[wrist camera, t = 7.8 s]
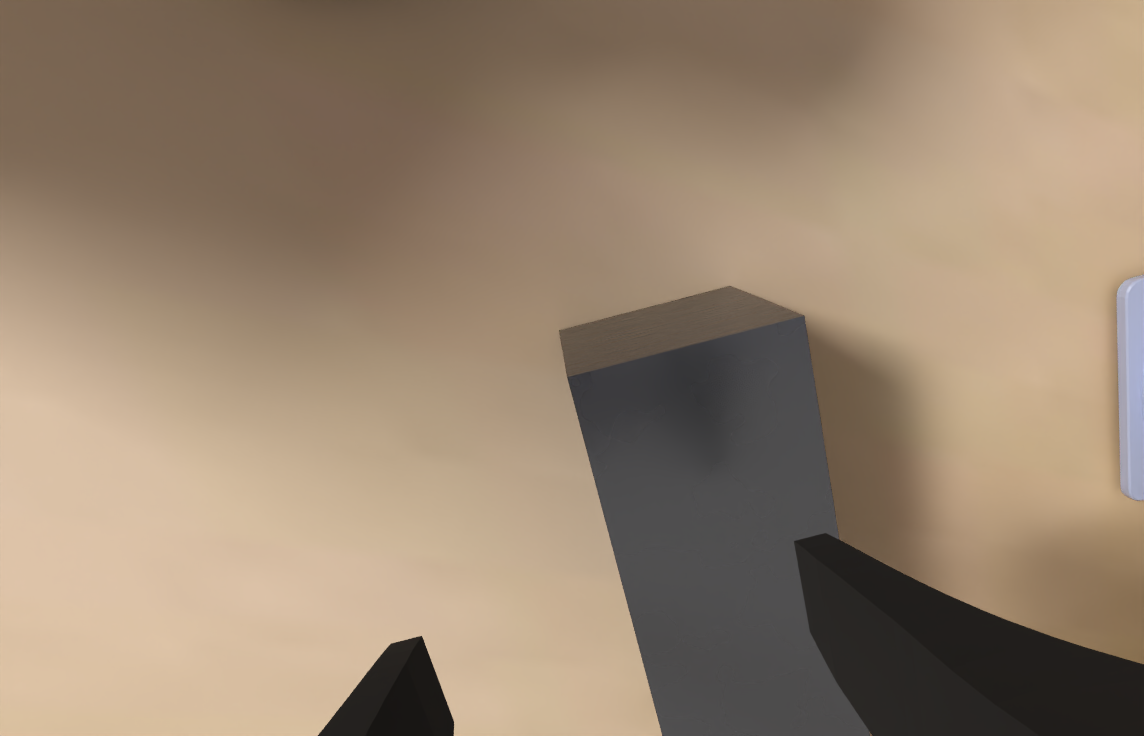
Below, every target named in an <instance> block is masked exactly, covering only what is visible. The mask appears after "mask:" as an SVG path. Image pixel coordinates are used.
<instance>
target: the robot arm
mask: <svg viewBox="0 0 1144 736" xmlns="http://www.w3.org/2000/svg"><path fill="white" fill-rule="evenodd" d="M1117 340H1118V388H1119V436H1120V483H1121V491H1122V493H1123V494H1124V495H1125V496H1127V497H1129V498H1131V499H1134V500H1137V501H1140V500H1144V275H1140V276H1136V277H1132V278H1130V279H1128V280H1126V281H1124V282H1123V283H1122V284H1121V285H1120V287H1119V289H1118V291H1117ZM794 545H795V551H796V556H797V562H798V568H799V573H800V579H801V584H802V590H803V596H804V601H805V607H806V613H807V618H808V624H809V629H810V633H811V635H812V637H813V639H814V641H815V643H816V645H817V647H818V649H819V651H820V652H821V654H822V656H823V658H824V660H825V662H826V664H827V666H828V668H829V669H830V671H831V673H832V675H833V677H834V679H835V681H836V682H837V684H838V685H839V687H840V688H841V690H842V692H843V693H844V695H845V696H846V697H847V699H848V700H849V702H850V703H851V705H852V706H853V708H854V709H855V711H856V712H857V714H858V715H859V717H860V718H861V720H862V721H863V723H864V724H865V725H866V727H867V728H868V730H869V731H870V733H871V734H872V736H1144V664H1140V663H1136V662H1133V661H1130V660H1126V659H1123V658H1119V657H1116V656H1113V655H1109V654H1106V653H1102V652H1099V651H1095V650H1092V649H1089V648H1085V647H1082V646H1079V645H1076V644H1073V643H1070V642H1067V641H1064V640H1060V639H1057V638H1054V637H1052V636H1049V635H1046V634H1043V633H1041V632H1038V631H1035V630H1032V629H1030V628H1027V627H1024V626H1021V625H1019V624H1016V623H1013V622H1010V621H1008V620H1005V619H1003V618H1000V617H998V616H995V615H993V614H990V613H988V612H985V611H983V610H980V609H978V608H976V607H974V606H971V605H969V604H967V603H964V602H962V601H960V600H958V599H955V598H953V597H951V596H948V595H946V594H944V593H942V592H940V591H938V590H936V589H933V588H931V587H929V586H927V585H925V584H923V583H921V582H919V581H917V580H915V579H913V578H911V577H909V576H907V575H905V574H903V573H901V572H899V571H897V570H895V569H893V568H891V567H889V566H887V565H885V564H883V563H882V562H880V561H878V560H876V559H874V558H872V557H870V556H868V555H867V554H865V553H863V552H861V551H859V550H857V549H855V548H854V547H852V546H850V545H848V544H846V543H844V542H842V541H840V540H839V539H837V538H835V537H833V536H831V535H829V534H827V533H823V534H819V535H815V536H811V537H808V538H804V539H800V540H796V541H794ZM318 736H454V721H453V718H452V715H451V713H450V710H449V707H448V705H447V702H446V699H445V697H444V694H443V691H442V689H441V686H440V683H439V680H438V678H437V675H436V672H435V670H434V667H433V664H432V662H431V659H430V656H429V654H428V651H427V648H426V646H425V643H424V640H423V638H422V636H420V637H416V638H412V639H408V640H404V641H400V642H396V643H392V644H390V645H389V647H388V648H387V649H386V650H385V651H384V652H383V654H382V655H381V656H380V657H379V658H378V660H377V661H376V662H375V664H374V665H373V666H372V667H371V669H370V670H369V671H368V672H367V674H366V675H365V676H364V678H363V679H362V680H361V682H360V683H359V684H358V685H357V687H356V688H355V689H354V691H353V692H352V693H351V694H350V696H349V697H348V698H347V700H346V701H345V702H344V703H343V705H342V706H341V707H340V708H339V710H338V711H337V712H336V713H335V715H334V716H333V717H332V719H331V720H330V721H329V722H328V724H327V725H326V726H325V727H324V729H323V730H322V731H321V732H320V734H319V735H318Z"/></svg>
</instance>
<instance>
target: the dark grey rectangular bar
mask: <svg viewBox="0 0 1144 736" xmlns="http://www.w3.org/2000/svg"><path fill="white" fill-rule="evenodd" d="M559 333H560V339H561V344H562V350H563V356H564V361H565V367H566V373H567V378H568V382H569V385H570V389H571V393H572V397H573V400H574V404H575V408H576V412H577V416H578V419H579V423H580V427H581V431H582V434H583V438H584V442H585V446H586V449H587V453H588V457H589V461H590V464H591V468H592V472H593V476H594V480H595V483H596V487H597V491H598V495H599V498H600V502H601V506H602V510H603V513H604V517H605V521H606V525H607V529H608V532H609V536H610V540H611V544H612V547H613V551H614V555H615V559H616V562H617V566H618V570H619V574H620V577H621V581H622V585H623V589H624V593H625V596H626V600H627V604H628V608H629V611H630V615H631V619H632V623H633V626H634V630H635V634H636V638H637V642H638V645H639V649H640V653H641V657H642V660H643V664H644V668H645V672H646V675H647V679H648V683H649V687H650V690H651V694H652V698H653V702H654V706H655V709H656V713H657V717H658V721H659V724H660V728H661V732H662V736H870V734H869V730H868V728H867V727H866V725H865V724H864V723H863V721H862V720H861V718H860V717H859V715H858V714H857V712H856V711H855V709H854V708H853V706H852V705H851V703H850V702H849V700H848V699H847V697H846V696H845V695H844V693H843V692H842V690H841V688H840V687H839V685H838V684H837V682H836V681H835V679H834V677H833V675H832V673H831V671H830V669H829V668H828V666H827V664H826V662H825V660H824V658H823V656H822V654H821V652H820V651H819V649H818V647H817V645H816V643H815V641H814V639H813V637H812V635H811V633H810V629H809V624H808V618H807V613H806V607H805V601H804V596H803V590H802V584H801V579H800V573H799V568H798V562H797V556H796V551H795V545H794V541H796V540H800V539H804V538H808V537H811V536H815V535H819V534H823V533H827V534H829V535H831V536H833V537H835V538H837V539H839V535H838V529H837V522H836V516H835V509H834V503H833V497H832V490H831V484H830V477H829V471H828V465H827V458H826V452H825V445H824V439H823V432H822V426H821V420H820V413H819V407H818V400H817V394H816V388H815V381H814V375H813V368H812V362H811V356H810V349H809V343H808V336H807V330H806V324H805V317H804V315H801V314H799V313H796V312H794V311H791V310H789V309H786V308H784V307H781V306H779V305H776V304H774V303H771V302H769V301H766V300H764V299H761V298H759V297H756V296H754V295H751V294H749V293H746V292H744V291H741V290H739V289H736V288H734V287H731V286H729V287H725V288H721V289H717V290H713V291H709V292H706V293H702V294H698V295H694V296H690V297H686V298H682V299H679V300H675V301H671V302H667V303H663V304H659V305H656V306H652V307H648V308H644V309H640V310H636V311H632V312H629V313H625V314H621V315H617V316H613V317H609V318H606V319H602V320H598V321H594V322H590V323H586V324H583V325H579V326H575V327H571V328H567V329H563V330H559Z"/></svg>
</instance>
